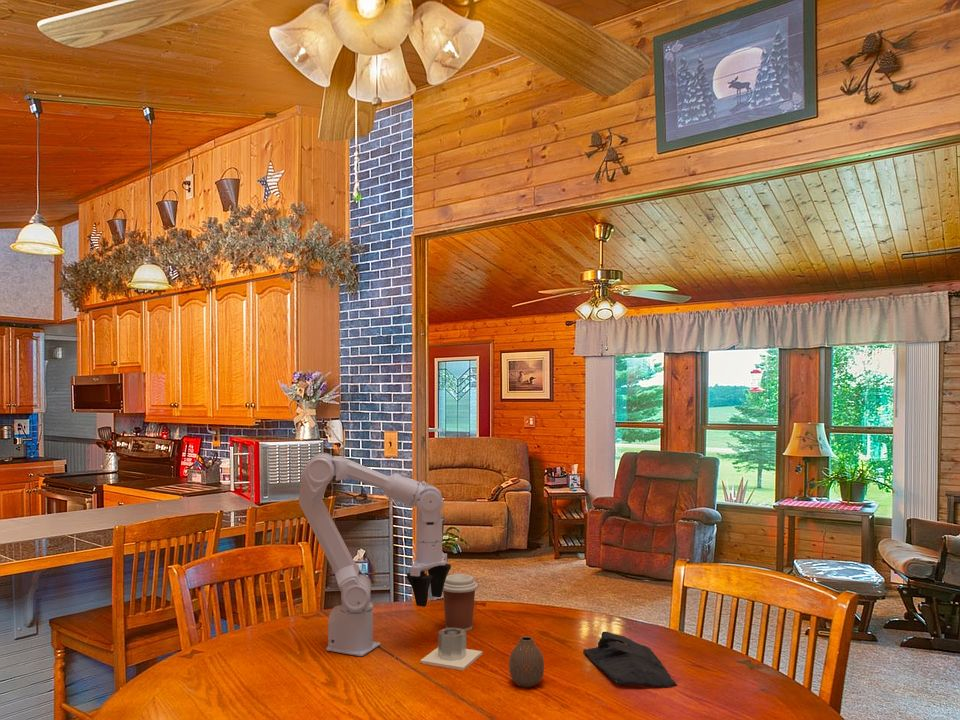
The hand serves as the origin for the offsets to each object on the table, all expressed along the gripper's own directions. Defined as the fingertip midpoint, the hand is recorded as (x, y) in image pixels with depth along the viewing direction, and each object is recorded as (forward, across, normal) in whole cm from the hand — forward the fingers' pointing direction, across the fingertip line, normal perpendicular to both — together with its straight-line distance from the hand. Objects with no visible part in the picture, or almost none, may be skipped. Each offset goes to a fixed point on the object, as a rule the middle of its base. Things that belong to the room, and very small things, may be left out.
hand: (429, 601), depth 164 cm
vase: (+10, -11, -27) cm, 31 cm away
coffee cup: (+10, +14, -1) cm, 17 cm away
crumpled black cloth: (+11, +5, -44) cm, 45 cm away
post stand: (+10, -5, -8) cm, 14 cm away
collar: (+9, -5, -8) cm, 13 cm away
